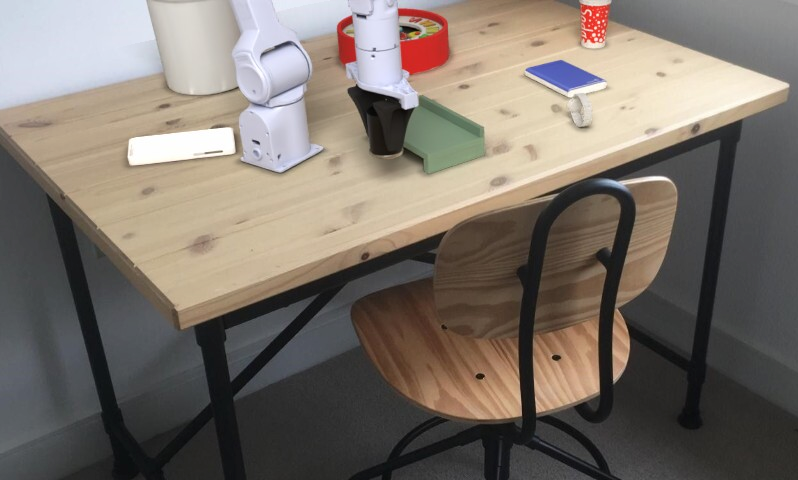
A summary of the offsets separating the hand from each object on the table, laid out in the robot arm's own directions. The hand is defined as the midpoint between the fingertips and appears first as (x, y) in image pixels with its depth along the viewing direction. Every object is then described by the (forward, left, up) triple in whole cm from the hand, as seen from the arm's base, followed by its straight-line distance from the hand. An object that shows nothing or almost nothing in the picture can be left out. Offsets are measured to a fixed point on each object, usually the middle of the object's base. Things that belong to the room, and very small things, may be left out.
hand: (385, 142), depth 130 cm
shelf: (+13, +3, -6) cm, 15 cm away
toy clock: (+42, +31, -6) cm, 53 cm away
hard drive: (+47, -2, -6) cm, 47 cm away
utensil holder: (+15, +51, -6) cm, 54 cm away
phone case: (-7, +33, -6) cm, 34 cm away
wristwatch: (+32, -13, -6) cm, 35 cm away
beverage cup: (+67, +3, -6) cm, 67 cm away
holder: (0, 0, -1) cm, 1 cm away
